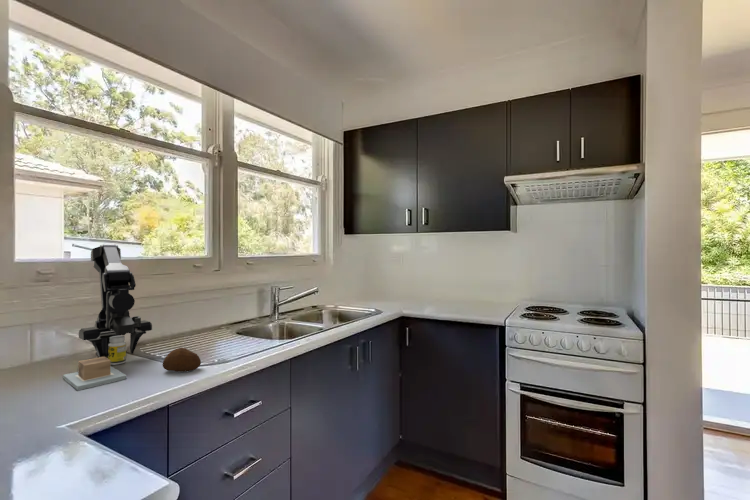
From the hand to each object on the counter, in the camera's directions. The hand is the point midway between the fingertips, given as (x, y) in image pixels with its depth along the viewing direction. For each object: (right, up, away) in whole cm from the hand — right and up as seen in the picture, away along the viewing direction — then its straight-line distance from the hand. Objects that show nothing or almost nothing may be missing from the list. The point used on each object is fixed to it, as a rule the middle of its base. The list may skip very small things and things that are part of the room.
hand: (116, 356), depth 118 cm
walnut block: (+4, -1, -14) cm, 15 cm away
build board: (+4, -2, -14) cm, 15 cm away
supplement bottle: (0, -2, 0) cm, 2 cm away
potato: (+25, -3, -8) cm, 26 cm away
